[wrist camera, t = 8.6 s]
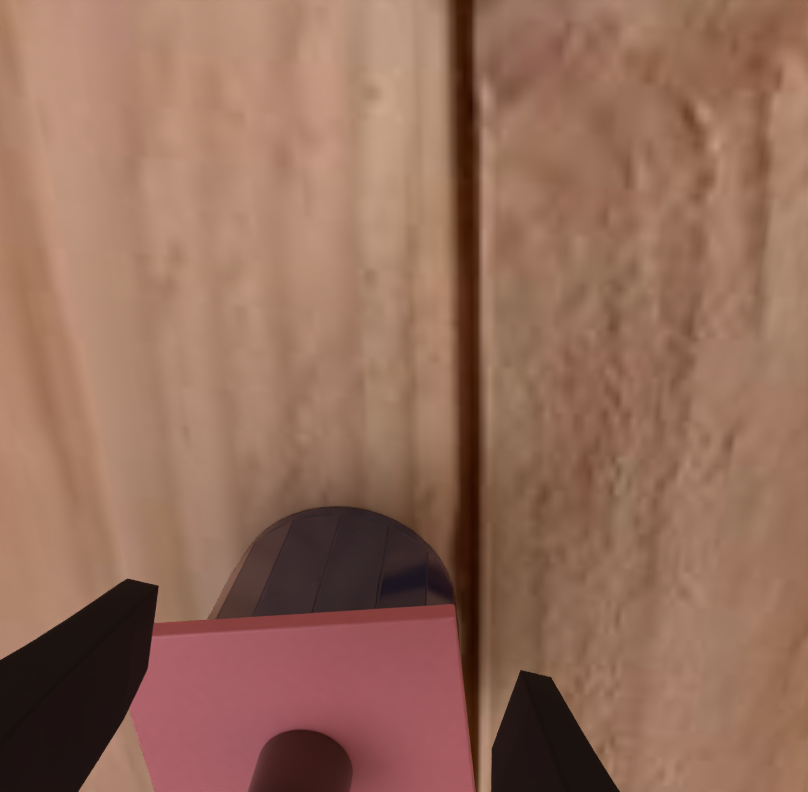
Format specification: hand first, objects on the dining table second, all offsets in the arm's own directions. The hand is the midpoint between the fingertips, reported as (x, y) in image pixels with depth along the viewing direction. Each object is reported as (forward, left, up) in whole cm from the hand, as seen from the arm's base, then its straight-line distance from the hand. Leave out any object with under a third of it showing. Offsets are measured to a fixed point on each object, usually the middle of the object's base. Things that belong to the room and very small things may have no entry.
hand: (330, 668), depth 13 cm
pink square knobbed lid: (-6, 0, -4) cm, 8 cm away
